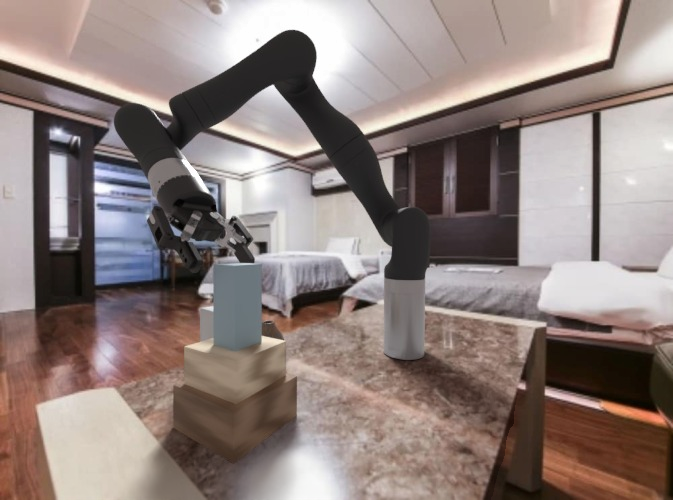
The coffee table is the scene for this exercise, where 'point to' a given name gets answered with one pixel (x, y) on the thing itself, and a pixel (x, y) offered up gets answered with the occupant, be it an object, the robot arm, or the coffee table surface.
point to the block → (237, 305)
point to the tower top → (234, 368)
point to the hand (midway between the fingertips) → (226, 267)
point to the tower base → (234, 416)
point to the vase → (271, 330)
